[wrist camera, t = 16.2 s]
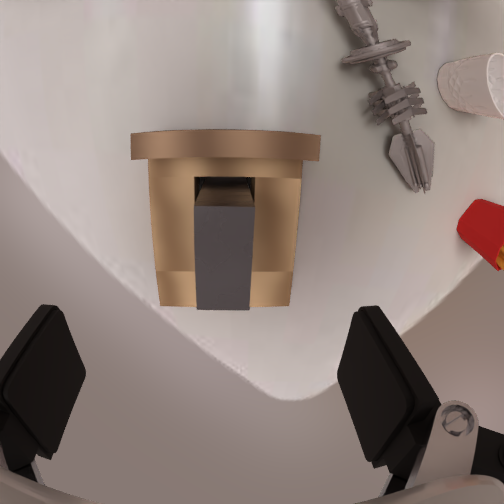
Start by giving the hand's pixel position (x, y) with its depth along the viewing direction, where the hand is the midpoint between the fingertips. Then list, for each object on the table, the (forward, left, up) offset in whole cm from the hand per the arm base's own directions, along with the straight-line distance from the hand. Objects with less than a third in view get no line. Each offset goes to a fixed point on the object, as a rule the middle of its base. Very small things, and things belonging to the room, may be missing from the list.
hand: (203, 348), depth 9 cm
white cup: (-29, -16, -25) cm, 42 cm away
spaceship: (-15, -16, -25) cm, 33 cm away
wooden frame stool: (0, +3, -25) cm, 25 cm away
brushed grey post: (0, +3, -25) cm, 25 cm away
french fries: (-36, +2, -25) cm, 44 cm away
